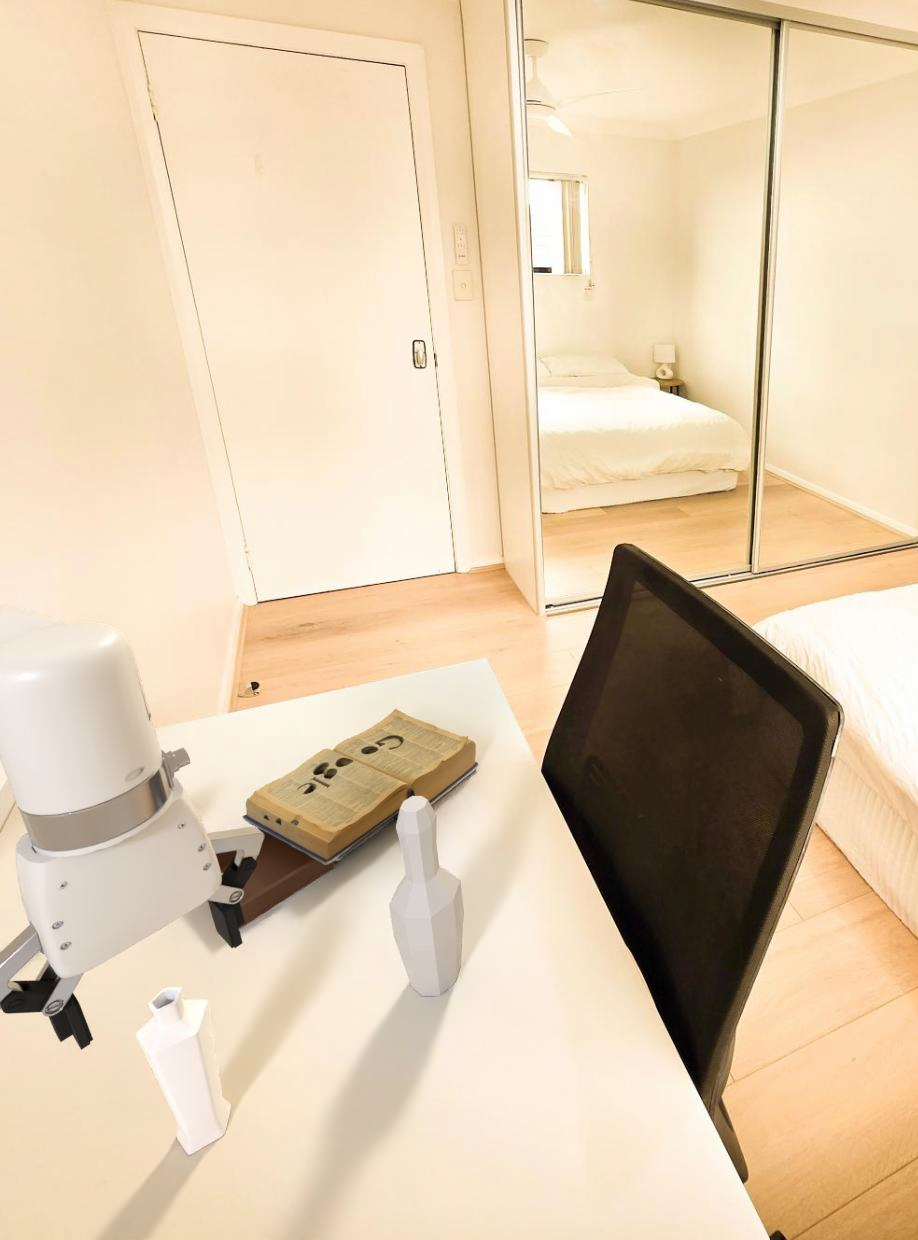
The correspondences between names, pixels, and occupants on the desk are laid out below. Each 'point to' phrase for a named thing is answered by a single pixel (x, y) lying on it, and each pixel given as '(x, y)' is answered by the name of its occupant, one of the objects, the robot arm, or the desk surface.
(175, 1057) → the white faceted vase
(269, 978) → the desk surface
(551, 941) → the desk surface
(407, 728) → the book
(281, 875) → the tray
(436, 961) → the low poly bottle
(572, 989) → the desk surface
